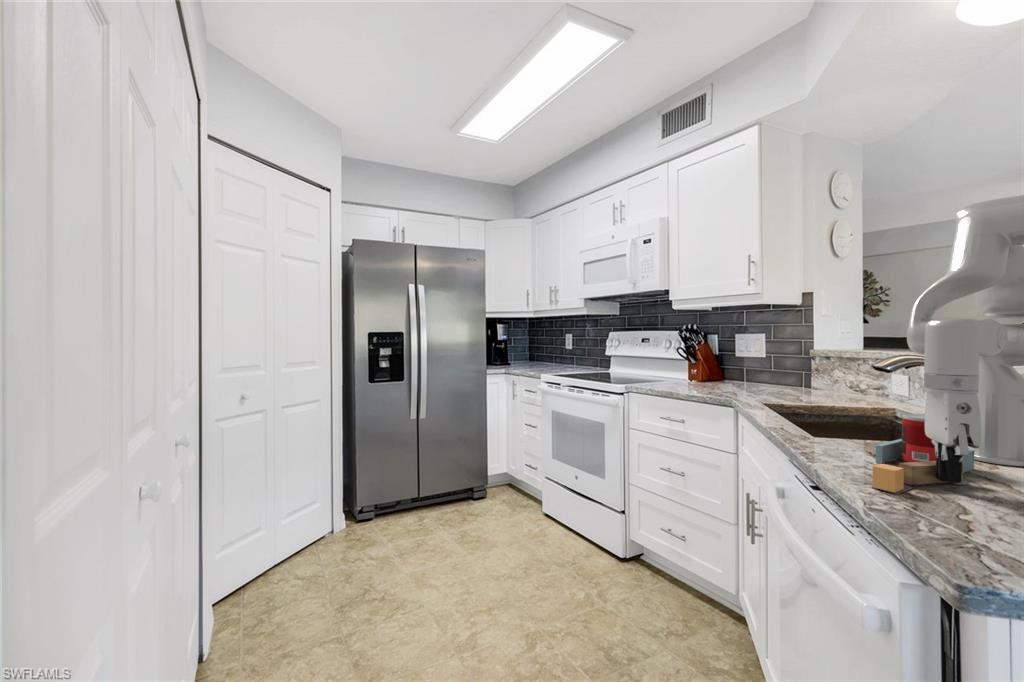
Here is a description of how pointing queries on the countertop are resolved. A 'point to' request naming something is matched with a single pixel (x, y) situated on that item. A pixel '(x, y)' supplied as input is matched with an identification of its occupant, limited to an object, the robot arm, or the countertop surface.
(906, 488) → the grey flat plate
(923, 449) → the canned food
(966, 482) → the hinge base
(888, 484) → the orange cube
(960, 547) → the countertop surface
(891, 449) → the keeper bay
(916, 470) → the bar
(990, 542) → the countertop surface
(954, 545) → the countertop surface
